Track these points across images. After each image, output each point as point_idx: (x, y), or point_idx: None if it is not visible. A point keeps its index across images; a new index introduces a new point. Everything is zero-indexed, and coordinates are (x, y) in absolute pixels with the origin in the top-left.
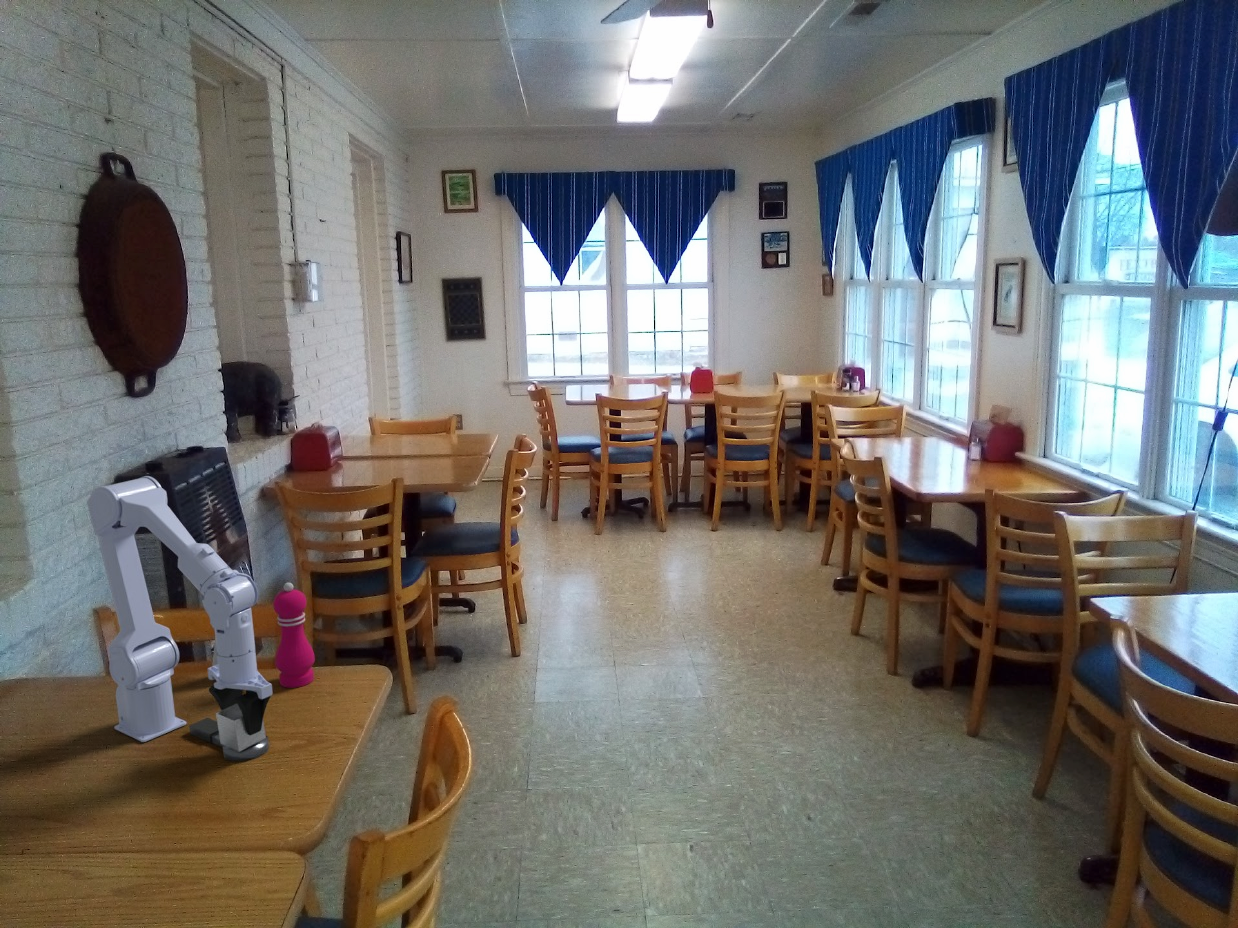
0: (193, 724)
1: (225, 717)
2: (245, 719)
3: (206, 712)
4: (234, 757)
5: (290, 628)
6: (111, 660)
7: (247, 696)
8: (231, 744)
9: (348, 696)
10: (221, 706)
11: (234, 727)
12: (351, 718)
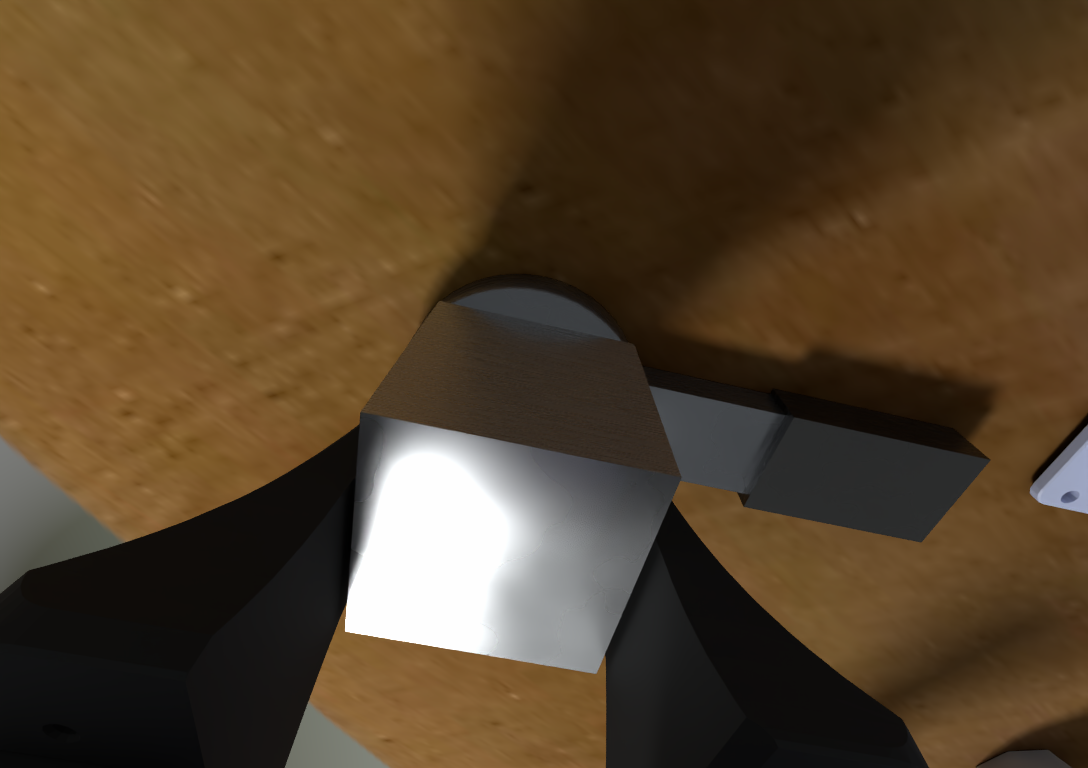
0: (966, 472)
1: (518, 440)
2: (323, 470)
3: (974, 587)
4: (488, 284)
5: None
6: None
7: (71, 738)
8: (511, 327)
9: (473, 753)
10: (689, 566)
11: (401, 378)
12: (331, 668)
